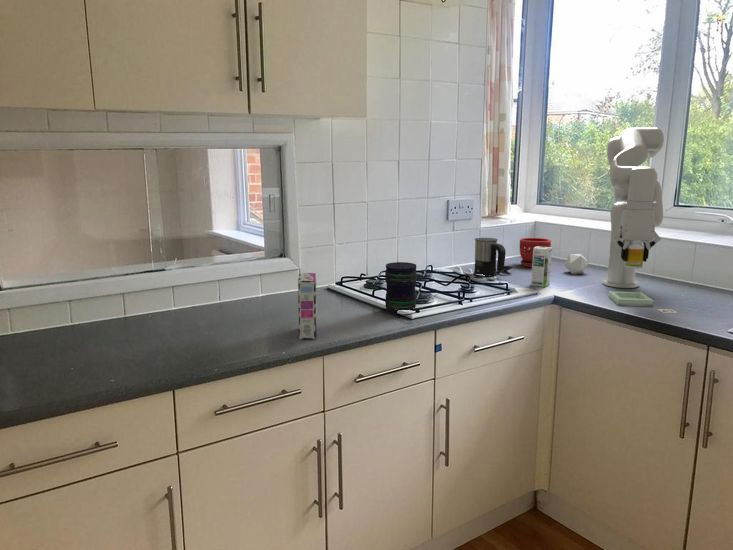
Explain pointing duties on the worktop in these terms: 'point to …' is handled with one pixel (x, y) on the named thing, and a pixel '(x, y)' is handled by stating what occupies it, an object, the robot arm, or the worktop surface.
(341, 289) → the worktop surface
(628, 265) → the supplement bottle
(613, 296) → the green tray
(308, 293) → the candy bar box
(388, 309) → the storage jar
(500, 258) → the milk frother
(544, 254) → the syrup box
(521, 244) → the plant pot
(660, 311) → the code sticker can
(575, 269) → the die
